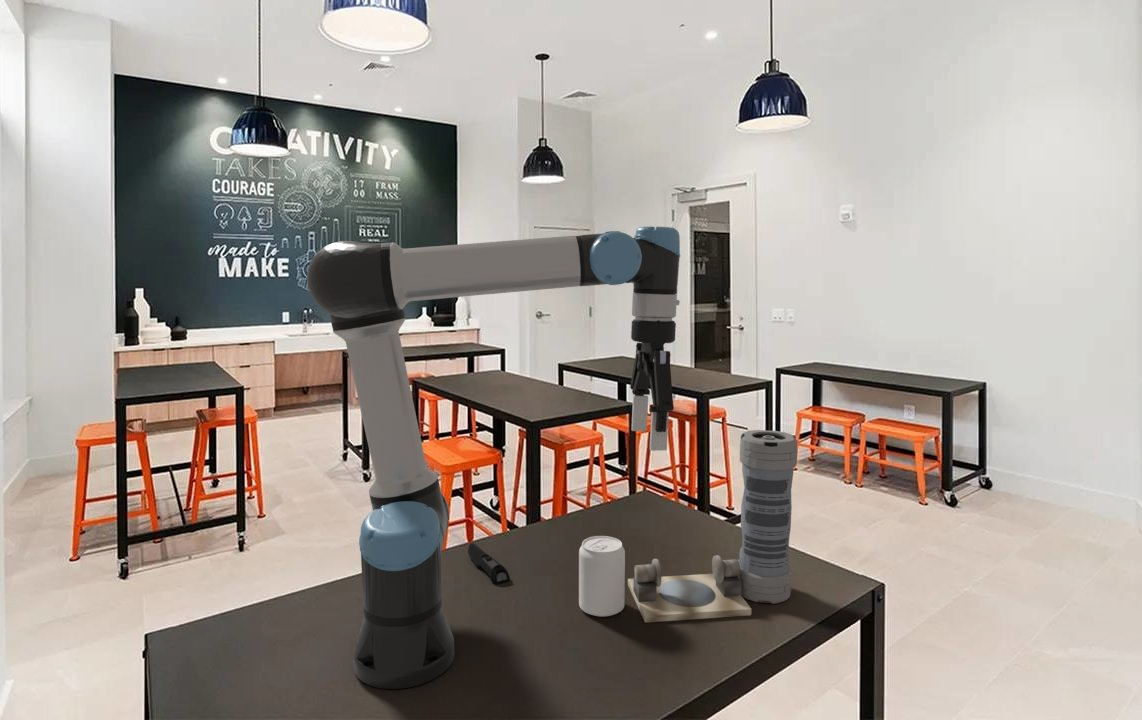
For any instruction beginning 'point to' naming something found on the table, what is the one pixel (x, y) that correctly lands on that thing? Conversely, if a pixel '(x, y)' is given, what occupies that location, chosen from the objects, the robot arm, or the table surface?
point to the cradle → (689, 593)
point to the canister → (766, 514)
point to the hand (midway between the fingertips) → (648, 439)
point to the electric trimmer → (488, 565)
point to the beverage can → (601, 576)
